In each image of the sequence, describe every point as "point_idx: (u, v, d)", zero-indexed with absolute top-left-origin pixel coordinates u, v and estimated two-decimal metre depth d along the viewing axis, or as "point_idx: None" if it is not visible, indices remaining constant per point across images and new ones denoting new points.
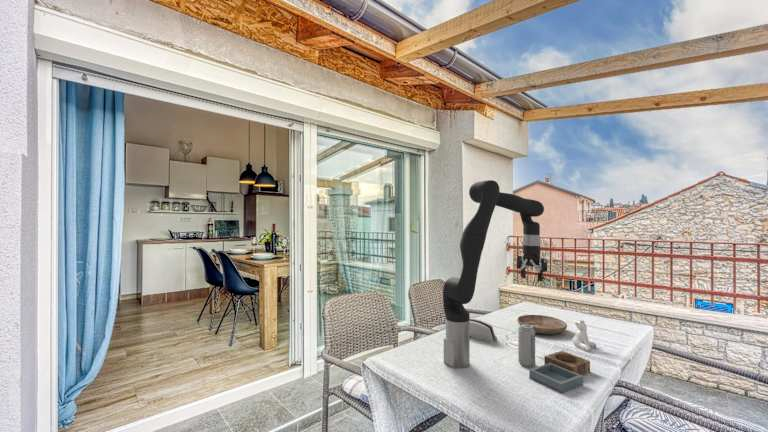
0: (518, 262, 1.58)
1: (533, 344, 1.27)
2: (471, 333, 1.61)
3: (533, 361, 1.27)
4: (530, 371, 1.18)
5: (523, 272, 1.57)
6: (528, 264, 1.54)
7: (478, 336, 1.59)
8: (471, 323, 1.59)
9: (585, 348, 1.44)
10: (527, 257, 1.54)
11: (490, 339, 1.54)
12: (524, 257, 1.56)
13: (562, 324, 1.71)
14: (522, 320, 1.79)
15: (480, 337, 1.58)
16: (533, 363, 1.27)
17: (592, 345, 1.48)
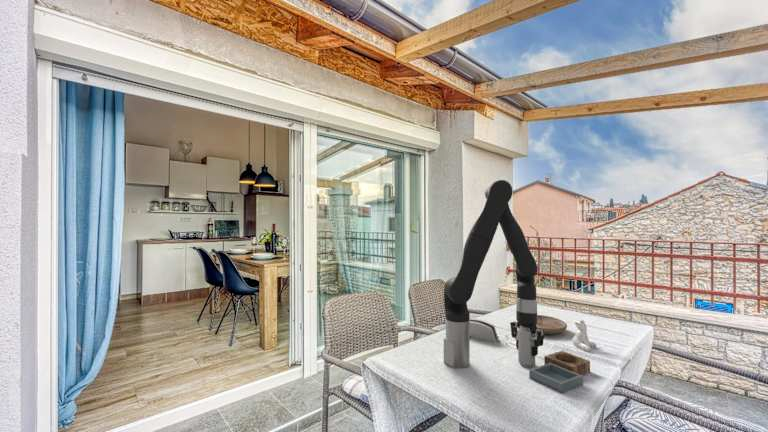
0: (512, 330, 1.34)
1: None
2: (473, 334, 1.60)
3: (533, 361, 1.27)
4: (530, 371, 1.18)
5: None
6: None
7: (480, 336, 1.58)
8: (473, 324, 1.58)
9: (585, 348, 1.44)
10: (521, 324, 1.31)
11: (493, 339, 1.54)
12: (518, 324, 1.32)
13: (562, 324, 1.71)
14: None
15: (482, 337, 1.57)
16: (533, 363, 1.27)
17: (592, 345, 1.48)
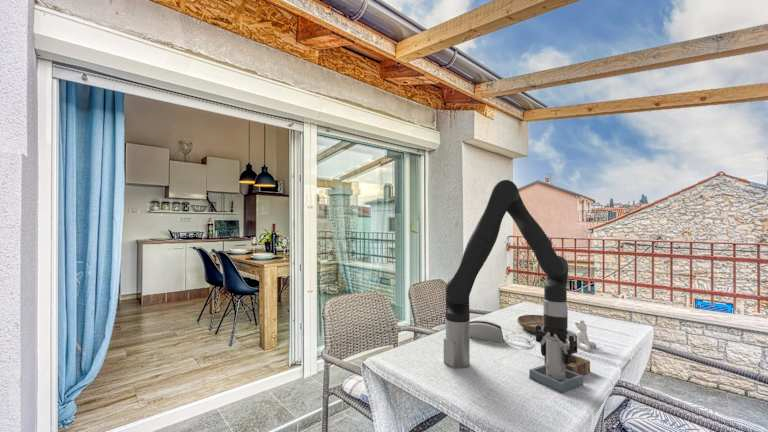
0: (537, 334, 1.21)
1: (563, 356, 1.14)
2: (478, 335, 1.58)
3: (563, 375, 1.14)
4: (530, 371, 1.18)
5: (544, 348, 1.19)
6: None
7: (486, 337, 1.57)
8: (480, 325, 1.56)
9: (585, 348, 1.44)
10: (550, 329, 1.17)
11: (500, 339, 1.54)
12: (545, 329, 1.18)
13: None
14: (522, 320, 1.79)
15: (488, 338, 1.56)
16: (563, 378, 1.14)
17: (592, 345, 1.48)
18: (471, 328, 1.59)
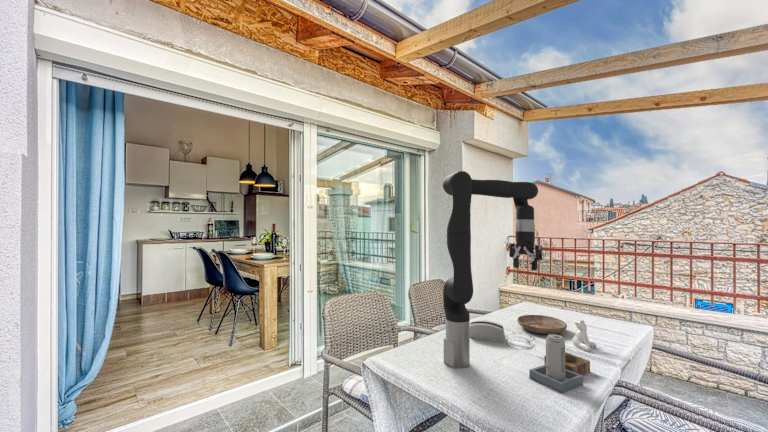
0: (511, 250, 1.44)
1: (563, 357, 1.14)
2: (480, 335, 1.58)
3: (564, 376, 1.14)
4: (530, 371, 1.18)
5: (516, 261, 1.42)
6: (521, 252, 1.39)
7: (488, 338, 1.56)
8: (482, 325, 1.56)
9: (585, 348, 1.44)
10: (520, 244, 1.40)
11: (502, 339, 1.54)
12: (517, 244, 1.41)
13: (562, 324, 1.71)
14: (522, 320, 1.79)
15: (491, 338, 1.56)
16: (564, 378, 1.14)
17: (592, 345, 1.48)
18: (473, 329, 1.58)
